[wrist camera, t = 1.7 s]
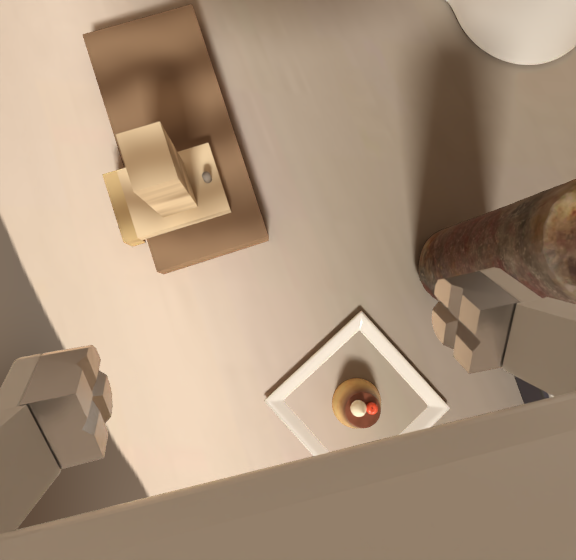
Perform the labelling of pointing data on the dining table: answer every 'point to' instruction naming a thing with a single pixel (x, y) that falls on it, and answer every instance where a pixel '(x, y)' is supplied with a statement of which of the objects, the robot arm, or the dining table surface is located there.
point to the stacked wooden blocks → (162, 185)
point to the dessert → (355, 388)
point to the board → (177, 122)
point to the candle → (512, 245)
